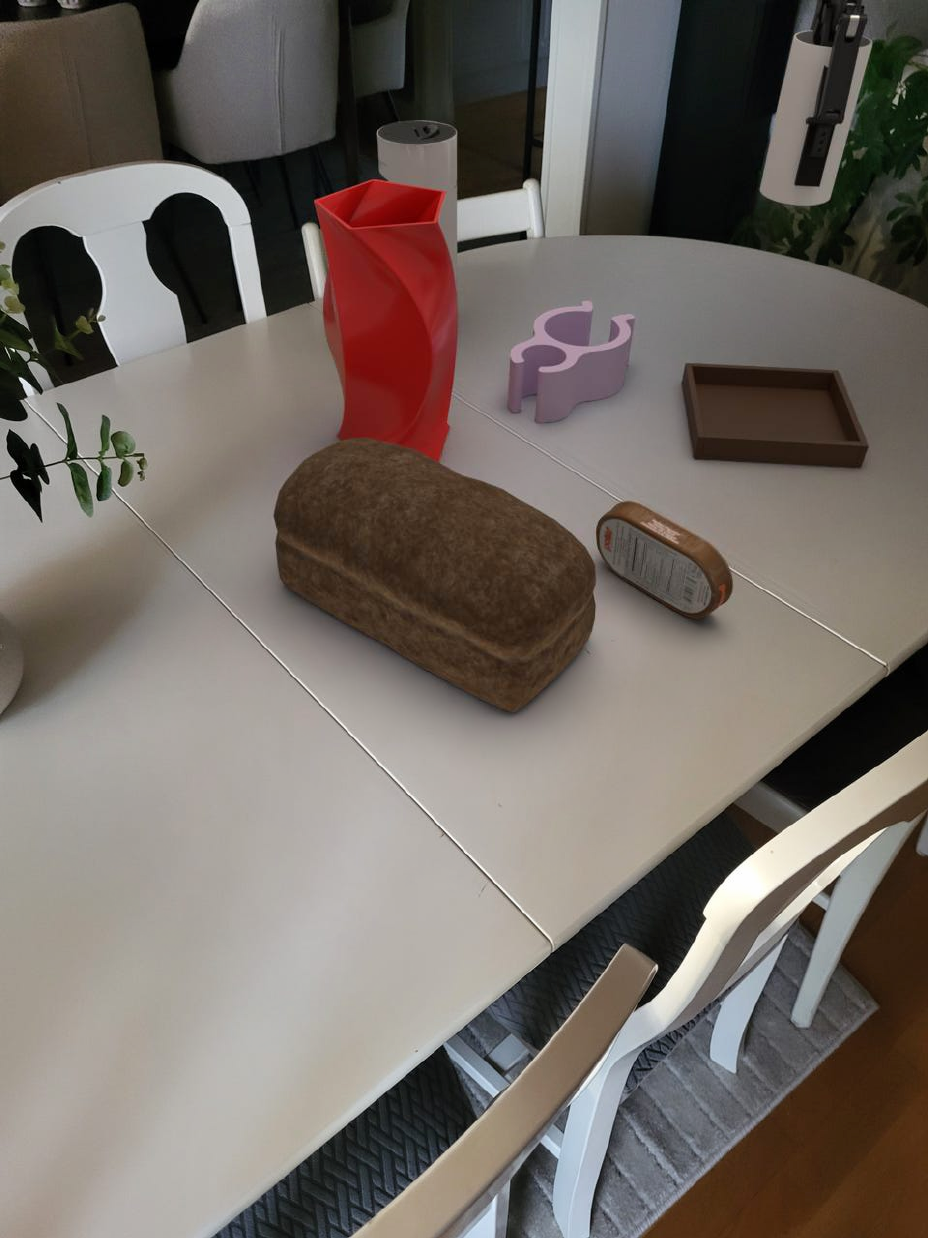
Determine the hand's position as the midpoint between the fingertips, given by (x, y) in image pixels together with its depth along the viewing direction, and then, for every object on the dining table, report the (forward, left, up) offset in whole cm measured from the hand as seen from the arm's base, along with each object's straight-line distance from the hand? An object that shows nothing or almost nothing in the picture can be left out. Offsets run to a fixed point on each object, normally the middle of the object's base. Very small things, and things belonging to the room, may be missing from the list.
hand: (800, 171), depth 110 cm
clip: (+25, +7, -26) cm, 37 cm away
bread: (+38, +52, -26) cm, 69 cm away
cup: (0, 0, -3) cm, 3 cm away
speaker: (+46, -9, -26) cm, 54 cm away
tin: (+16, +47, -26) cm, 56 cm away
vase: (+46, +23, -26) cm, 58 cm away
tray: (0, +14, -25) cm, 29 cm away
